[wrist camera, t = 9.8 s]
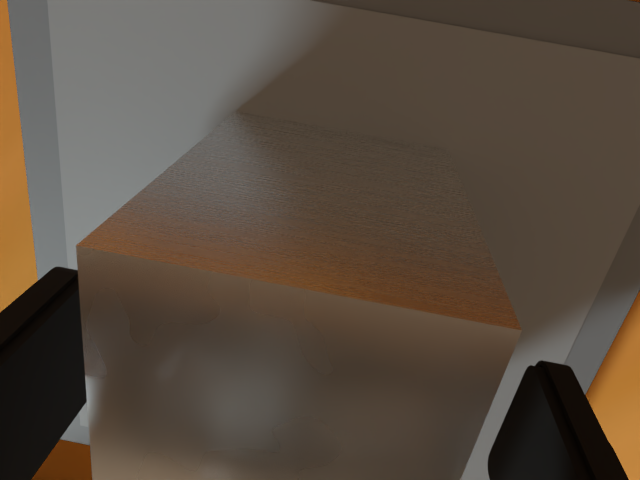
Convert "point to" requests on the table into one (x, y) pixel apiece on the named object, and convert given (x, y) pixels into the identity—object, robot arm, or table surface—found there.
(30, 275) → the table surface
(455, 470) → the block
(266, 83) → the grey square tray
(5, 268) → the table surface
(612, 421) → the table surface
